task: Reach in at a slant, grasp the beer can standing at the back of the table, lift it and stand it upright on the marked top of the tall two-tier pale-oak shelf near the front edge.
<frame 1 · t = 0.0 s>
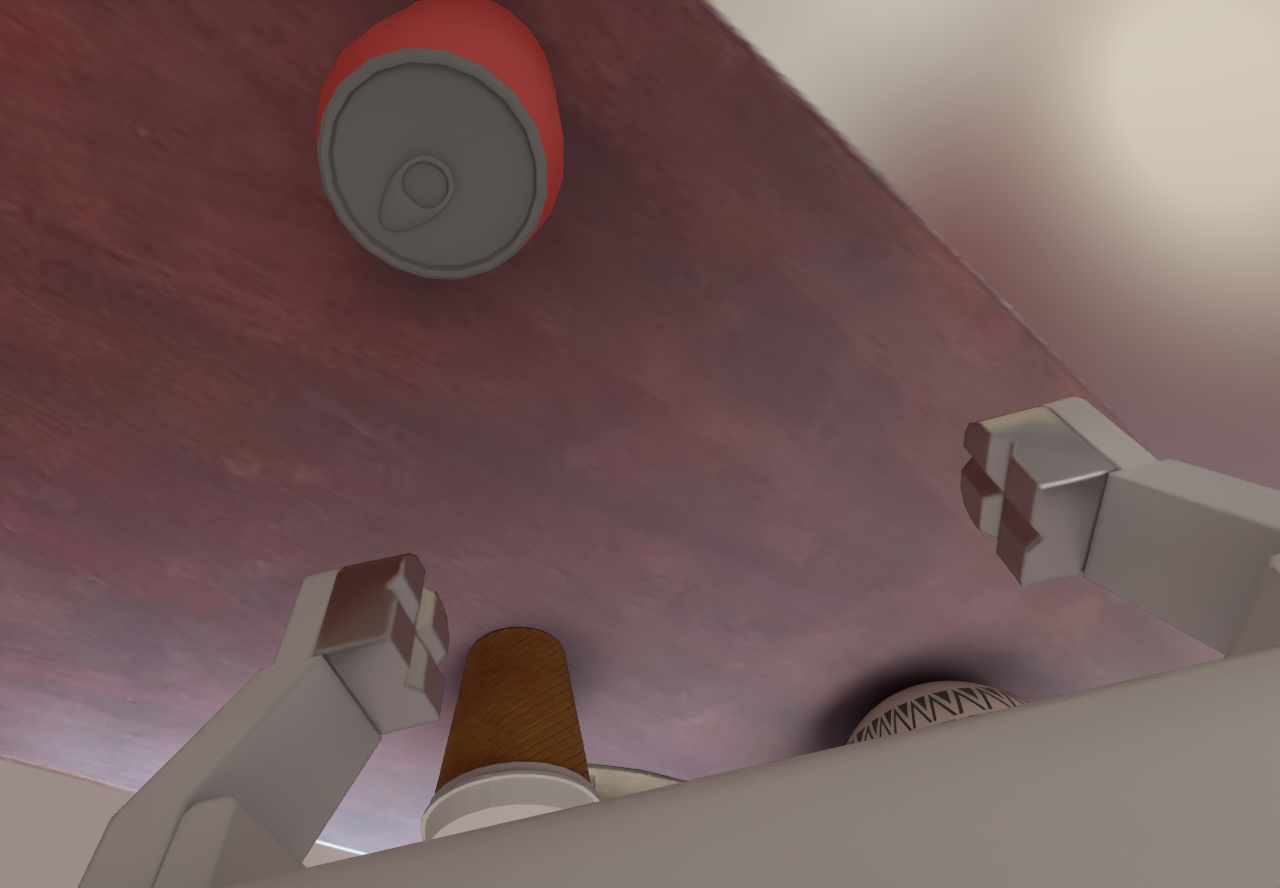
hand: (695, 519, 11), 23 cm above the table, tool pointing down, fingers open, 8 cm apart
planter: (913, 707, 56), on the table
figurine: (630, 791, 58), on the table
beer can: (468, 90, 28), on the table
disposable coffee cup: (516, 657, 47), on the table
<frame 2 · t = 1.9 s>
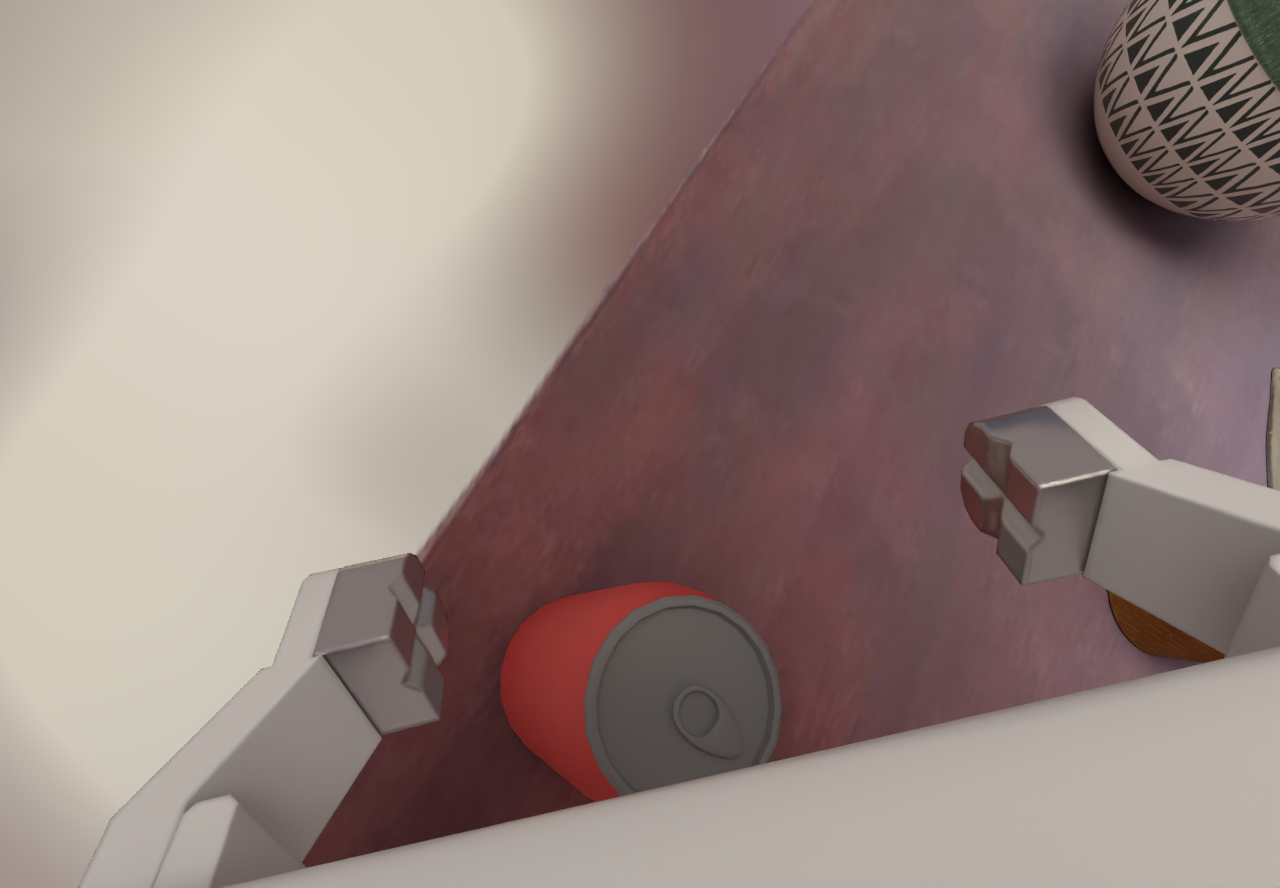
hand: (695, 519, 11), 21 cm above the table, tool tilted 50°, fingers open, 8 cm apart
planter: (1131, 153, 51), on the table
beer can: (576, 676, 30), on the table
disposable coffee cup: (1145, 598, 41), on the table
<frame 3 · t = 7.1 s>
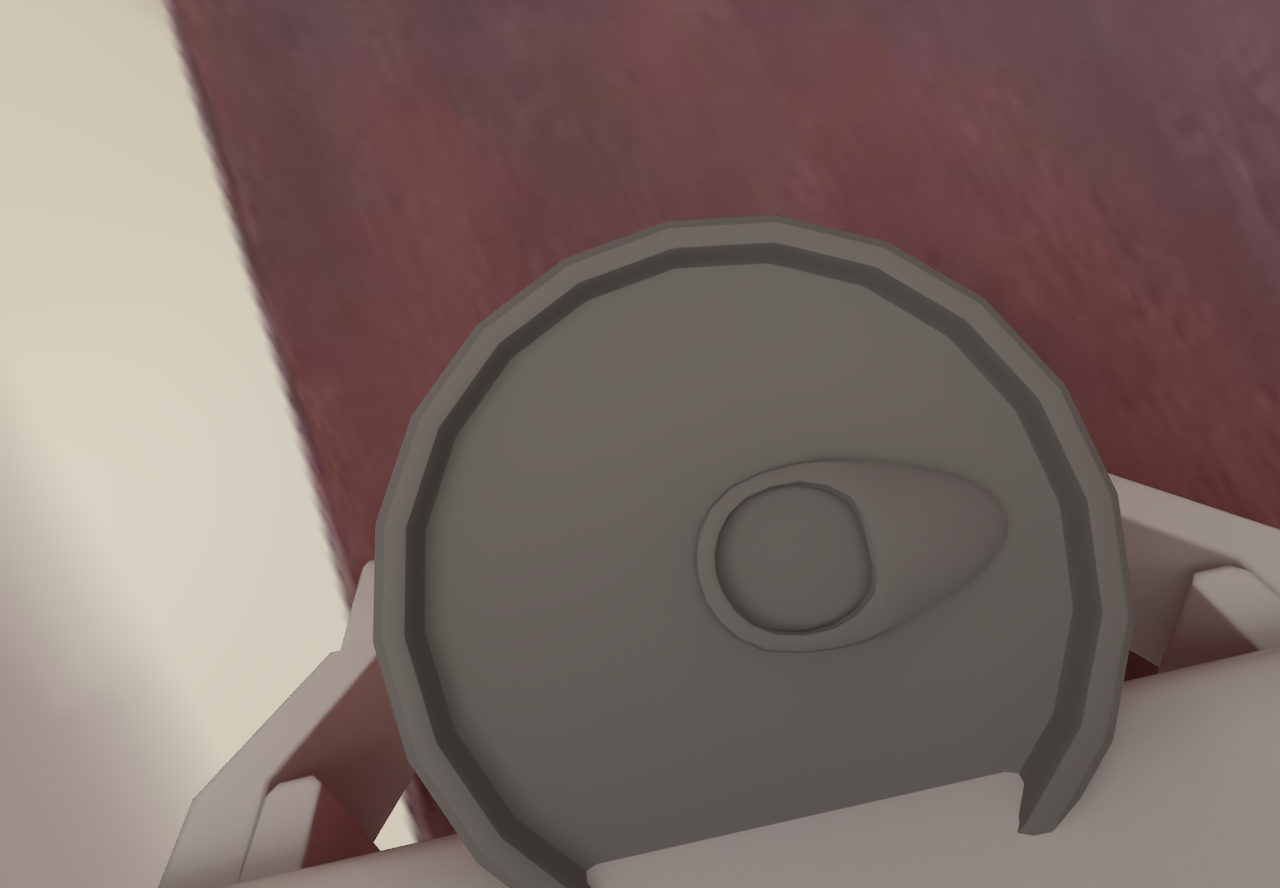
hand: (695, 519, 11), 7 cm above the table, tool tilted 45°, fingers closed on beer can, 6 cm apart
beer can: (695, 561, 17), on the table, touching gripper
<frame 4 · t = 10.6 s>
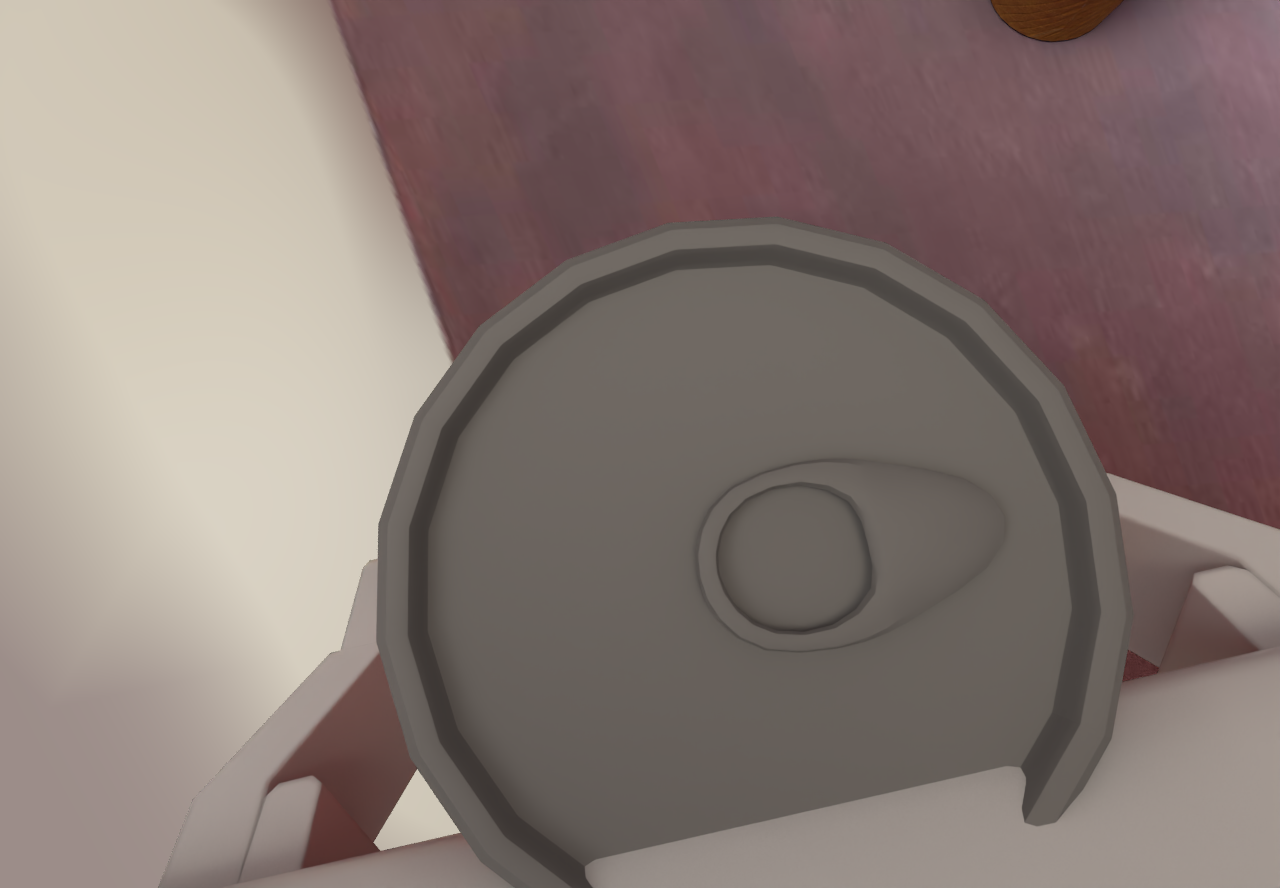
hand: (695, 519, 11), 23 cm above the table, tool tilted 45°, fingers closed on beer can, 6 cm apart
beer can: (695, 562, 17), point 16 cm above the table, touching gripper
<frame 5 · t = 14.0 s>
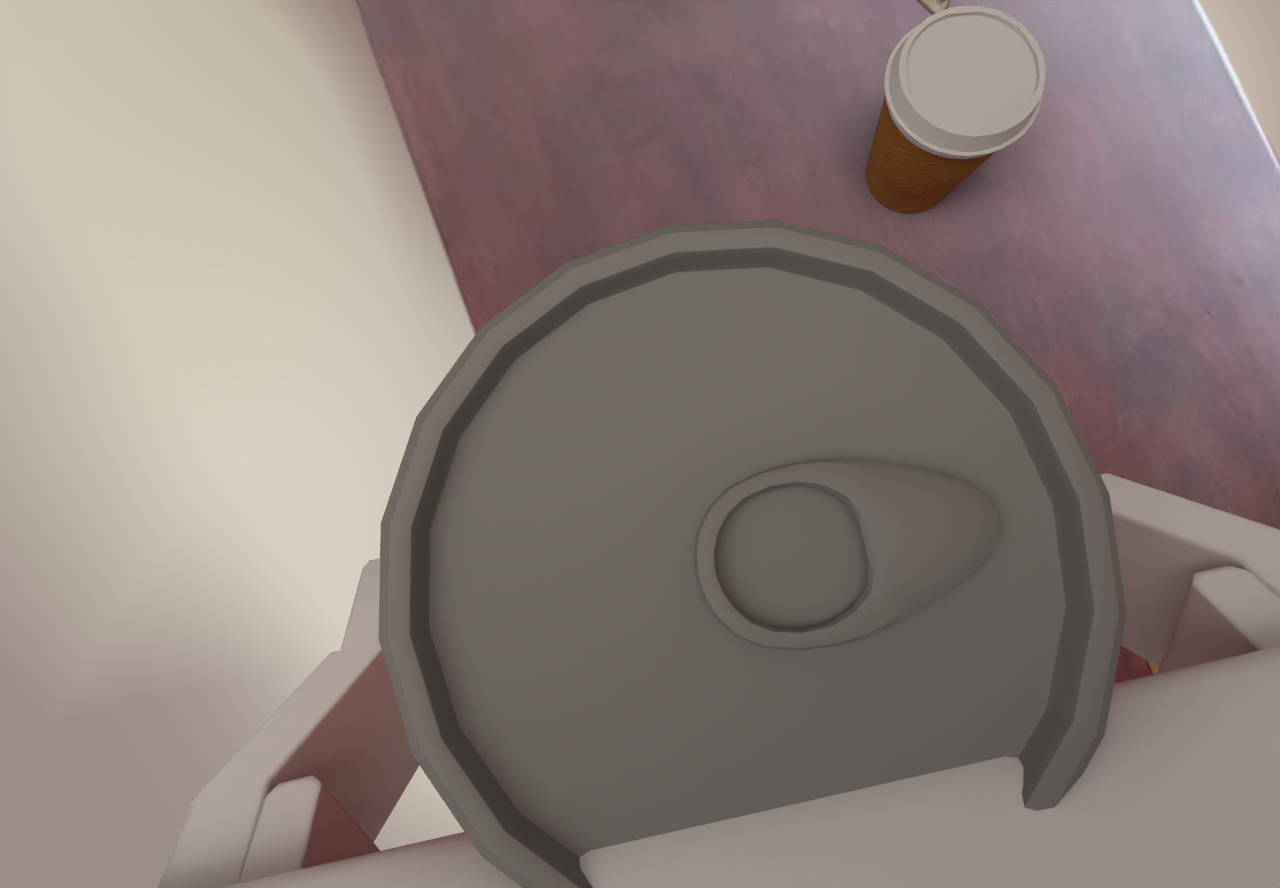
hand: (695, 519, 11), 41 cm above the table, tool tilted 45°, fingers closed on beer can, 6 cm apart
beer can: (695, 562, 17), point 34 cm above the table, touching gripper
disposable coffee cup: (907, 176, 55), on the table
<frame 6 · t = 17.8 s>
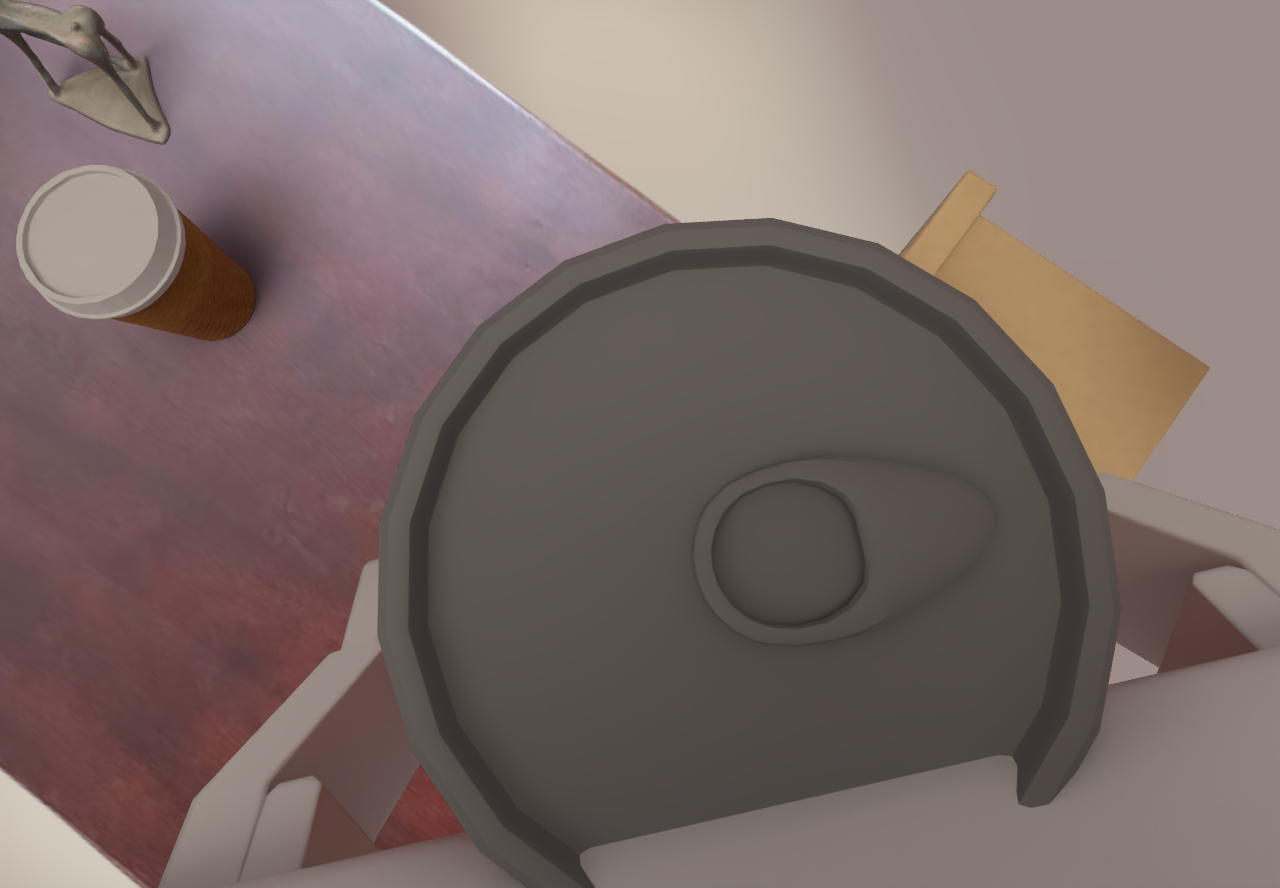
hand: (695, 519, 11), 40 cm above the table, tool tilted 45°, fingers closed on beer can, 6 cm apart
figurine: (124, 92, 57), on the table
beer can: (694, 561, 17), point 33 cm above the table, touching gripper
shelf: (763, 531, 50), on the table
disposable coffee cup: (216, 301, 54), on the table
when the fingers open (37 cm above the table, at t = 21.0 s): beer can stays where it is, resting on shelf.
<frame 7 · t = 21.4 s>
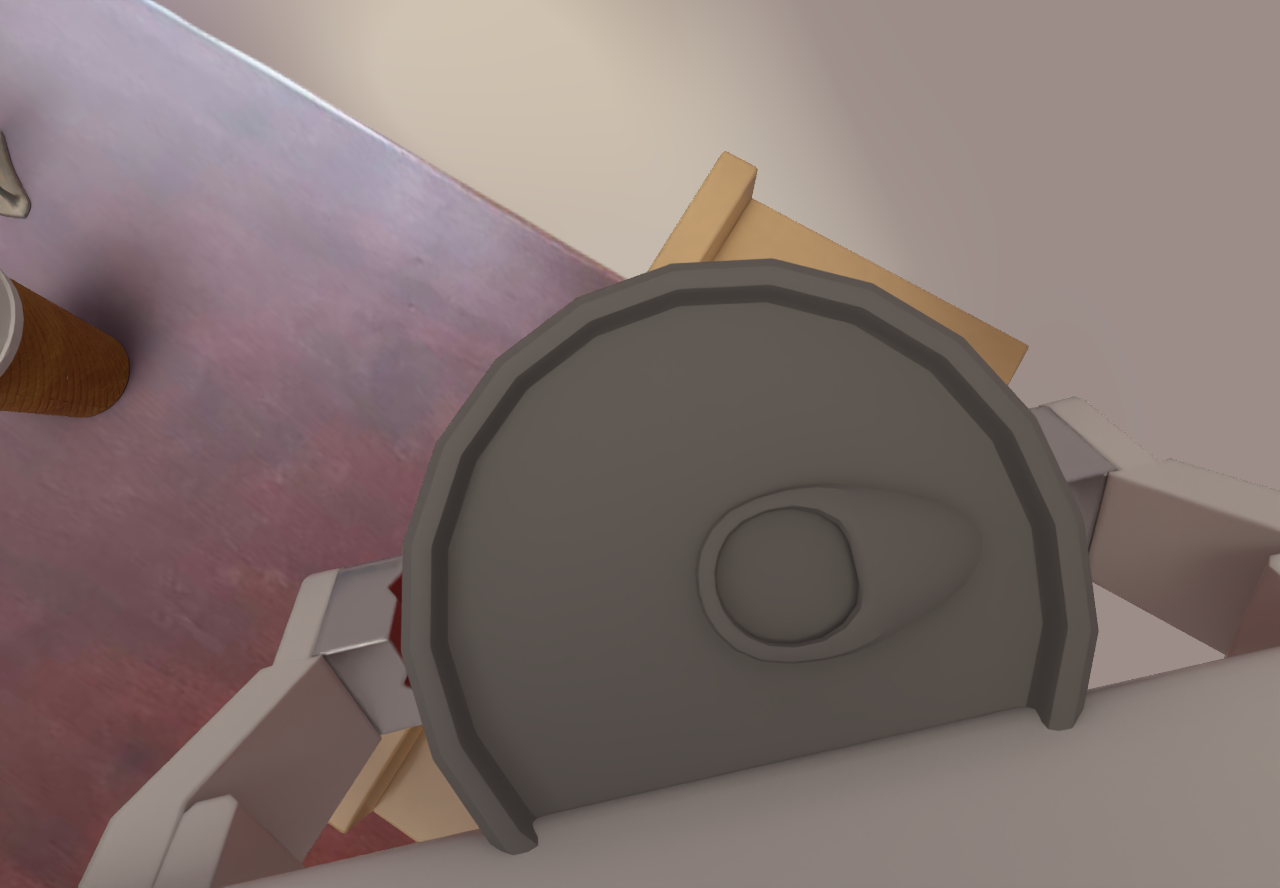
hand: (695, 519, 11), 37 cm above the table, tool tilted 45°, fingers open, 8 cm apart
beer can: (695, 567, 18), point 30 cm above the table, touching shelf
shelf: (681, 559, 47), on the table
disposable coffee cup: (89, 374, 51), on the table
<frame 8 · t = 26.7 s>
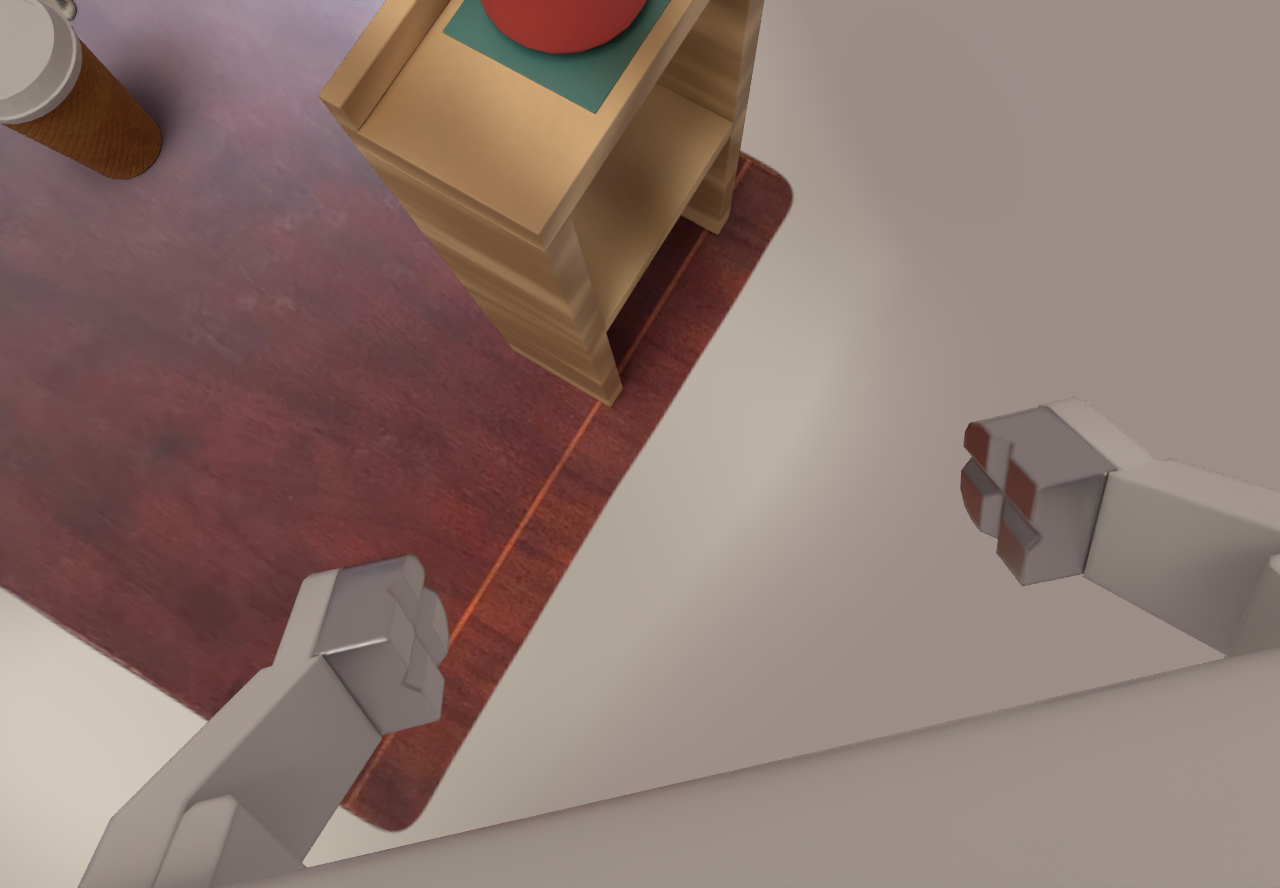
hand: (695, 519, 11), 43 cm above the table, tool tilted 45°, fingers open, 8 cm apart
shelf: (622, 283, 57), on the table
disposable coffee cup: (127, 146, 61), on the table
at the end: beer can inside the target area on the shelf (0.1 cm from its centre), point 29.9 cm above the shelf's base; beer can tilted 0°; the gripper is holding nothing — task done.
